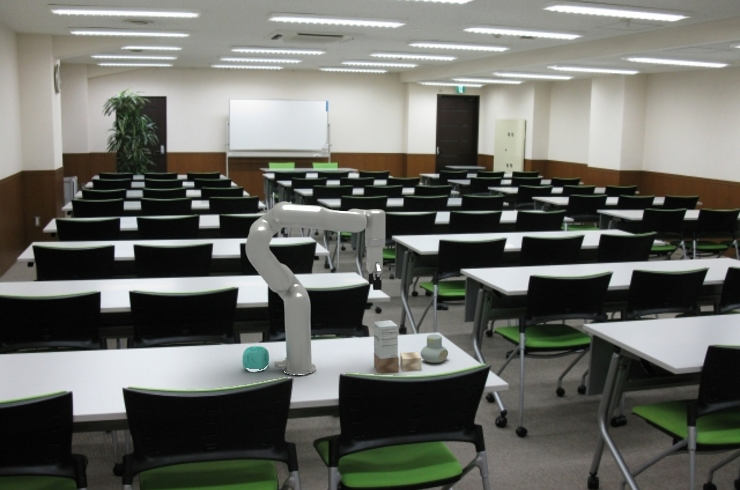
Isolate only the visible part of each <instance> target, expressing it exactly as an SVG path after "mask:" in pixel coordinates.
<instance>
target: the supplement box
mask: <svg viewBox="0 0 740 490" xmlns="http://www.w3.org/2000/svg"><path fill="white" fill-rule="evenodd" d="M398 327H399V326H398V325H397V324H396V323H395V322H394V321H393V320H390V319H389V320H381V321H374V322H373V340H374V341H373V354H374V353H375V354H376V355H377V356H378V357H379V358H380V359H386V358H394V357H399V356H398V355H399V351H398V350H399V349H398V348H399V347H398V346H399V345H398V344H399V341H398V339H399V338H398V336H399V335H398V334H399V333H398V332H399V330H398V329H399V328H398Z"/></svg>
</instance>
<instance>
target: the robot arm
mask: <svg viewBox="0 0 740 490" xmlns="http://www.w3.org/2000/svg"><path fill="white" fill-rule="evenodd" d="M283 228H298V229H299V228H303V229H315V230H321V231H322V230H323V231H332V232H342V233H360V232H362V231H365V232H364V233H365V235H364V237H365V239H364V243H365V244H364V245H365V247H366V261H365V262H366V267H365V270H366V271H367V272H368V284H369V285H372V289H373V291H382V279H383V278H382V273H383V264H384V257H383V255H384V253H383V248H385V247H386V212H385V210H383V209H377V208H376V209H375V208H374V209H359V208H351V209H348V210H347V211H342V210H341V211H340V210H334V209H329V208H327V207H324V206H321V205H320V206H319V205H312V204H311V205H309V204H307V205H306V204H293V203H292V202H288V201H280V202H278V203H277V204H275V205H274V206H273V207H271V208H270V209H269V210H268V211H267V212H265V213H264V214H262V215H261V216H260V217H259V218H258V219H256V220H255V221H254V222H253V223H252V224H251V226H250V228H249V233H248V236H247V239H246V241H245V254H246V256H247V259H248V261H249V262H250V264H251V265H252V266H253V267H254V269H255V270H256V271H257V273H258V274H259V276H260V277H261V278H262V280H263V281H264V282H265V284H266V285H267V287H269V289H270V290H271V291H272V292H274V293H276V294H278V296H279V297H280V298H281V299H282V300H283V305H284V306H283V307H284V331H285V349H286V350H285V353H286V355H285V358H284V359H282V360H281V361H277V360H276V361H274V367H278V369H282V371H283V370H284V371H285V372H286V373H288V374H291V375H293V374H295V375H298V374H308V373H311V374H313V373H314V371H315V372H316V369H317V367H316V365H315V364H313V361H312V360H313V359H312V333H311V299H310V296H309V293H308V291H307V289H306V288H305V286H304V285H303V284H302V283H301V281H300V280H299V279H298V277H296V275H295V274H294V273H293V271H292V270H291V269H290V268H289V267H288V266H287V265H286V264H284V263H281V262H280V261H279V260H278V259H277V257H276V256H275V254H273V252H272V251H271V249H270V243H271V241H272V240H273V237H274V235H276V234H277V233H278V232H279V231H281V230H283ZM312 372H313V373H312ZM291 375H290V376H291ZM308 375H309V374H308Z"/></svg>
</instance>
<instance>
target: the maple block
mask: <svg viewBox="0 0 740 490" xmlns="http://www.w3.org/2000/svg"><path fill="white" fill-rule="evenodd" d="M399 366H400V367H401V371H402V372H410V371H411V372H412V371H413V372H414V371H421V370H422V357H421V354H420V353H419V351H418V352H417V351H415V352H414V351H413V352H412V351H411V352H400V353H399Z"/></svg>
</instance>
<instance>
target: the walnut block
mask: <svg viewBox="0 0 740 490" xmlns="http://www.w3.org/2000/svg"><path fill="white" fill-rule="evenodd" d="M373 367H374V369H375V371H376V373H377V374H378V373H381V374H382V375H383V374H384V375H385V374H393V373H394V374H395V373H399V372H400V368H399V367H400V356H398V357H394V358H386V359H380V358H379V357H378V356H377V355H376V354H375V353H374V352H373ZM381 374H380V375H381Z"/></svg>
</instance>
